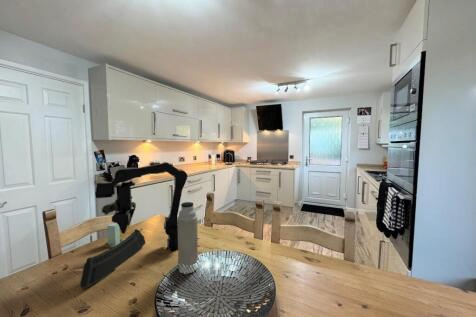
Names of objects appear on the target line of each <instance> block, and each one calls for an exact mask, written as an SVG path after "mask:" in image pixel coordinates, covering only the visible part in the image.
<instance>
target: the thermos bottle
mask: <svg viewBox="0 0 476 317" xmlns="http://www.w3.org/2000/svg"><path fill="white" fill-rule="evenodd" d="M180 205H181V206H180V207H181V208H180V209H181V210H179V211H178V215H177V221H178V250H177V251H178V252H177V257H178V258H177V265H178V264H180V263H182V264H184V265H189V266H190V265H193V264H195V263H196V261H197V260H198V261H199V259H198V256H199V255H198V254H199V252H198V248H199V246H198V245H199V244H198V240H199V239H198V238H199V237H198V230H199V228H198V215H197V212H196V210H195V209H194V202H191V201H186V202H182V203H181V204H180Z"/></svg>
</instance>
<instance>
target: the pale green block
mask: <svg viewBox="0 0 476 317" xmlns="http://www.w3.org/2000/svg"><path fill="white" fill-rule="evenodd" d="M106 231H107V242H108V245H115V246H116V245H117V244H119V243H120V239H121V237H120V234H121V233H120V232H121V230H120V227H119V225H118V224H117V223H114V222H112V223H109V224H108V225H107V226H106Z"/></svg>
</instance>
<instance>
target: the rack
mask: <svg viewBox="0 0 476 317" xmlns="http://www.w3.org/2000/svg"><path fill="white" fill-rule="evenodd" d="M123 240H124V239H123V238H120V242H121V241H123ZM114 246H115V245H108V241H107V242H105V243H104V244H103V245H101V249H110V248H112V247H114Z"/></svg>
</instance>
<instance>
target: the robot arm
mask: <svg viewBox="0 0 476 317" xmlns="http://www.w3.org/2000/svg"><path fill="white" fill-rule="evenodd" d="M161 172H166V173H168V174H169V175H171V176H172V177H173V182H174V183H173V185H174V188H173V193H172V197H171V204H170V210H169V214H168V216H165V217H164V222H163V229H164V232H165V235H167V239H166V243H167V244H166V246H167V248H168V250H170V252H174V251H175V252H176V251H178V216H179V211H180V210H179V209H180V205H181V204H180V203H181V199H182V193H183V189H184V187H185V185H186V183H187V180H188V173H187V172H186V171H185V170H183V169H179V168H177V167H175V166H174V165H172V164H170V163H169V162H167V161H164V162H161V163H156V164H150V165H144V166H140V167H121V168H119V169H118V170H117V171H116V172H115V173H114V179H112V180H111V181H110V182H109V181H108V182H107V181H106V182H97V183H96V187H95V193H94V194H95V195H94V196H95V198H96V199H105V198H107V199H108V198H113V196H114V195H116V199H115V200H114V201H113V202H111V203H108V204H106V205H103V207H102V208H101V213H103V214H104V215H105V216H107V215H109V213H113V212H114V211H115V213H114V214H113V215H112V216H111V222H112V223H117V224H118V225H119V229H120V232H121V234H122V235H123V234H126V231H127V228H128V227H129V226H130V225H131V221H132V219H133V217H134V213H135V211H136V208H137V203H136V202H135V201H132V200H133V196H132V187H134V186H136V183H135V182H134V181H133V179H135V178H138V177H141V176H145V175H146V176H147V175H151V174H157V173H161ZM120 183H121V184H120Z"/></svg>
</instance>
